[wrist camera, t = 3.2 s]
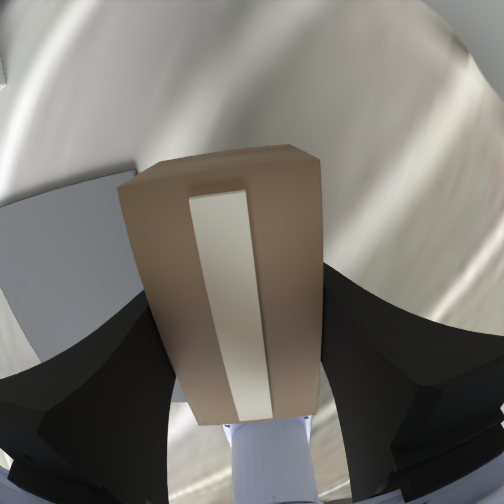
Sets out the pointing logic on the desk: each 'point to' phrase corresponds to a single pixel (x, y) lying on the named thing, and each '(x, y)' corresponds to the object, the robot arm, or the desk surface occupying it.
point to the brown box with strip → (234, 277)
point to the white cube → (2, 77)
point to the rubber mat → (68, 263)
